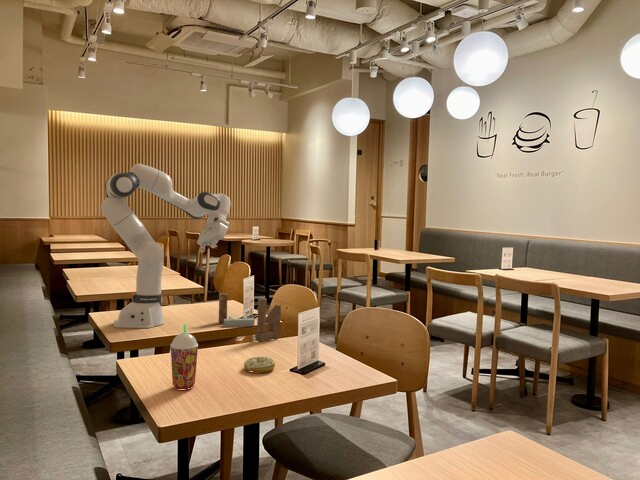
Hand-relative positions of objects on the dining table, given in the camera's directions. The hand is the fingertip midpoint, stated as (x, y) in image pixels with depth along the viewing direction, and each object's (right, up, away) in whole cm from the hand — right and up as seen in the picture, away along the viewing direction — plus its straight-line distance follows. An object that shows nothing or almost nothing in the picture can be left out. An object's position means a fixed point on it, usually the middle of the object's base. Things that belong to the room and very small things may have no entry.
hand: (207, 249), depth 253 cm
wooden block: (+31, -38, -25) cm, 55 cm away
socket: (+15, -36, 0) cm, 38 cm away
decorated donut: (+32, -41, -66) cm, 84 cm away
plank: (+7, -35, +2) cm, 36 cm away
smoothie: (+11, -42, -87) cm, 97 cm away
